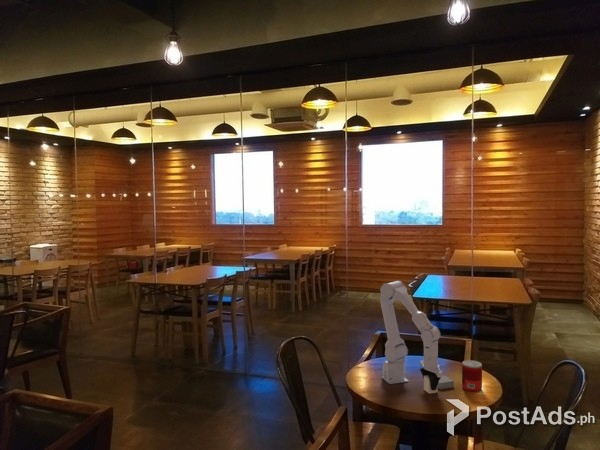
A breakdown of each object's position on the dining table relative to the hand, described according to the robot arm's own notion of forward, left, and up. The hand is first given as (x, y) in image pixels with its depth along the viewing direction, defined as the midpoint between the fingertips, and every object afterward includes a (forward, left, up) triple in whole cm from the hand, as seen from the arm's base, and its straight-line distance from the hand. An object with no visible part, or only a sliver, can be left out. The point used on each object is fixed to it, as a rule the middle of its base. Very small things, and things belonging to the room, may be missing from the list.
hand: (430, 387), depth 186 cm
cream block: (0, 0, -1) cm, 1 cm away
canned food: (+18, -3, -2) cm, 18 cm away
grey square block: (+8, +4, -2) cm, 9 cm away
